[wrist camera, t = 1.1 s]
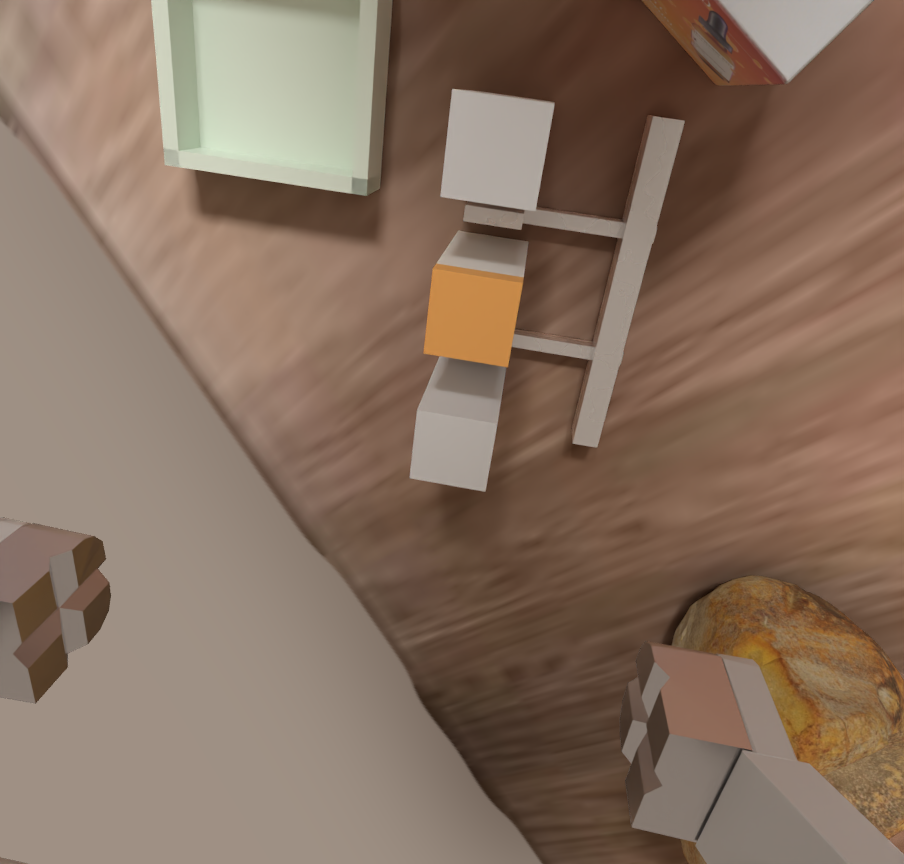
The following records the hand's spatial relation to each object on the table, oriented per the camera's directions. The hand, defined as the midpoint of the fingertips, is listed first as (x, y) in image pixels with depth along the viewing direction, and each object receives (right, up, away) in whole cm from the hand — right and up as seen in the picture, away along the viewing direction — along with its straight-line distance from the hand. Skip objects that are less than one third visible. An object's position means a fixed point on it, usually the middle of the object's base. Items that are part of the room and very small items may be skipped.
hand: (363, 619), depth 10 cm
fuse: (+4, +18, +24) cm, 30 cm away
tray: (-7, +22, +24) cm, 33 cm away
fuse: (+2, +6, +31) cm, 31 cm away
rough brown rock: (+26, -16, +39) cm, 49 cm away
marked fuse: (+3, +12, +27) cm, 30 cm away
